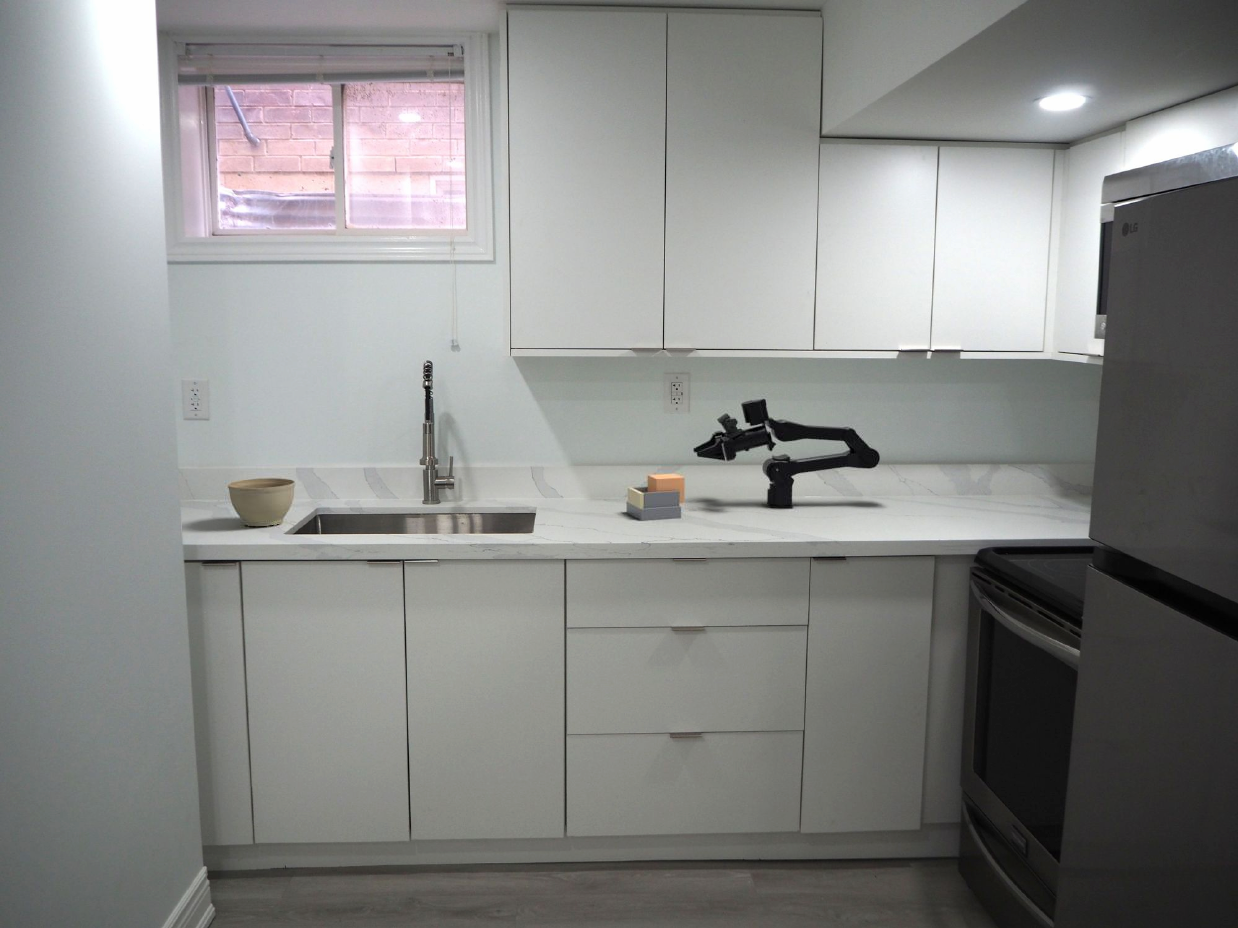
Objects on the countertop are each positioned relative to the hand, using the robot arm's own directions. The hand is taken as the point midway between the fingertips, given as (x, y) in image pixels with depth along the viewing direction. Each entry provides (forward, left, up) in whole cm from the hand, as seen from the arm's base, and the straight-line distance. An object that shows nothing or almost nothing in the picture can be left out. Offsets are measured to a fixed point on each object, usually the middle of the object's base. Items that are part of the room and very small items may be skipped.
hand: (695, 452), depth 261 cm
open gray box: (+10, +13, -15) cm, 22 cm away
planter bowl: (+110, +36, -16) cm, 117 cm away
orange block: (+7, +12, -12) cm, 18 cm away
